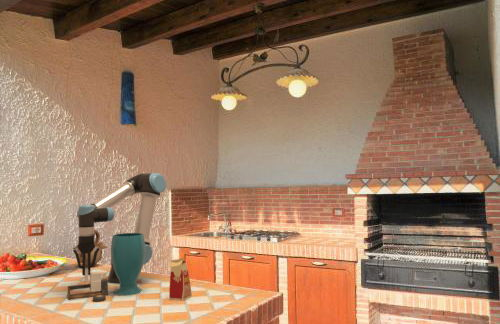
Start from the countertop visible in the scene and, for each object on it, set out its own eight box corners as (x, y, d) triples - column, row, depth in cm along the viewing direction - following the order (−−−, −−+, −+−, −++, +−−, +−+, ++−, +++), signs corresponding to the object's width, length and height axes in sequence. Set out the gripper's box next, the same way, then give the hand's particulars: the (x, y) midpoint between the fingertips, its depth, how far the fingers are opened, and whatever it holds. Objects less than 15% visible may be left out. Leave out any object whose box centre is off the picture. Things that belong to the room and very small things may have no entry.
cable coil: (104, 298, 223) (104, 293, 223) (106, 300, 218) (106, 296, 218) (92, 299, 220) (92, 295, 221) (93, 302, 215) (93, 298, 215)
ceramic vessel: (72, 266, 310) (72, 230, 311) (99, 262, 322) (99, 227, 323) (80, 270, 296) (80, 232, 297) (109, 266, 308) (109, 230, 308)
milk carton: (191, 296, 225) (191, 256, 226) (183, 300, 216) (182, 259, 217) (175, 294, 228) (175, 255, 228) (166, 299, 219) (166, 258, 220)
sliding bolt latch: (106, 292, 235) (106, 278, 236) (108, 295, 229) (108, 281, 229) (67, 296, 227) (67, 282, 227) (68, 299, 221) (68, 285, 221)
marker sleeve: (99, 287, 233) (99, 271, 233) (101, 289, 229) (101, 273, 229) (89, 289, 231) (89, 272, 231) (90, 290, 227) (90, 274, 227)
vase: (134, 286, 247) (134, 232, 249) (151, 291, 235) (151, 234, 236) (105, 292, 235) (105, 234, 237) (121, 297, 223) (121, 237, 224)
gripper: (98, 233, 235) (98, 278, 234) (72, 235, 230) (72, 281, 229) (100, 235, 229) (100, 281, 228) (73, 236, 223) (73, 284, 222)
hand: (86, 281), depth 228 cm, fingers closed
